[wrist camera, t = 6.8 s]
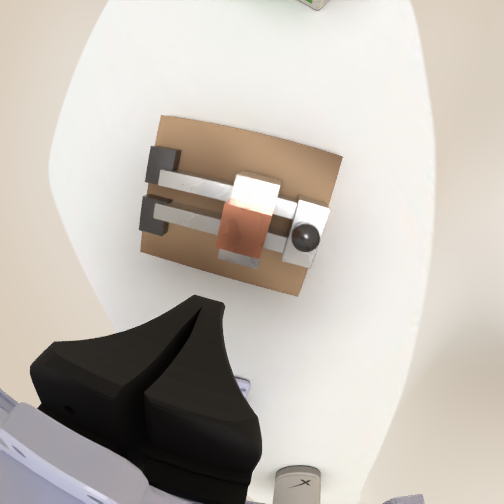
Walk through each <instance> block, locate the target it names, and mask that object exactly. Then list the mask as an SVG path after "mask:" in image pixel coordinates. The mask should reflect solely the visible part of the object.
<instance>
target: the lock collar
mask: <svg viewBox="0 0 504 504" xmlns="http://www.w3.org/2000/svg"><path fill="white" fill-rule="evenodd" d="M281 181H282V180H279V179H275V178H271V177H268V176H264V175H260V174H256V173H252V172H248V171H242V172H240V173H238V174H236V178H235V182H234V187H233V191H232V195H231V198H230V199H229V200H228V201H226V202H225V204H224V208H223V213H222V217H221V222H220V227H219V231H218V236H217V241H216V246H215V247H216V248H219V249H220V250H219V254H218V259H222V260H225V261H229V262H232V263H236V264H239V265H243V266H247V267H250V268H254V269H258V265H259V262H260V258H261V255H262V251H263V247H264V244H265V240H266V236H267V233H268V229H269V225H270V222H271V218H272V214H273V210H274V207H275V203H276V199H277V196H278V192H279V188H280V185H281Z"/></svg>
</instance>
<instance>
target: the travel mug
mask: <svg viewBox="0 0 504 504" xmlns="http://www.w3.org/2000/svg"><path fill="white" fill-rule="evenodd" d="M273 504H320V472H319V471H318V470H317V469H315V468H312V467H307V466H292V467H287V468H284V469H281V470H279V471H278V472H277V474H276V480H275V489H274V497H273Z"/></svg>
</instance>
